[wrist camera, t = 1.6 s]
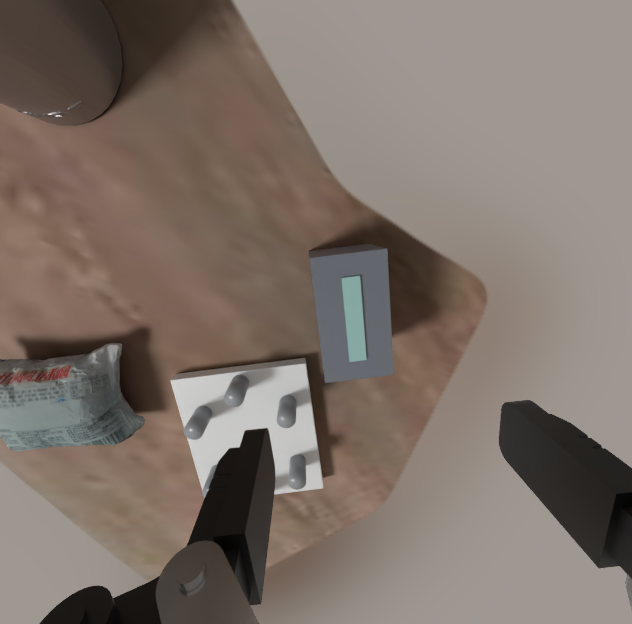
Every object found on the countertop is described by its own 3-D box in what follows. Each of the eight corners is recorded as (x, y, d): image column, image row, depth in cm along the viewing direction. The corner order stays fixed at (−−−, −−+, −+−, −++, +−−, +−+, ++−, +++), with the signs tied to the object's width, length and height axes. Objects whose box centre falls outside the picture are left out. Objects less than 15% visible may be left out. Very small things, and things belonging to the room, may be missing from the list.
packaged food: (-2, 345, 26) (-71, 373, 21) (133, 334, 26) (95, 359, 21) (33, 428, 28) (-21, 469, 24) (156, 417, 29) (126, 456, 24)
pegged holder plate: (176, 373, 27) (156, 396, 23) (305, 357, 27) (305, 377, 23) (209, 492, 31) (197, 526, 27) (322, 478, 31) (324, 511, 27)
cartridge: (308, 251, 24) (309, 258, 19) (368, 243, 24) (388, 248, 19) (320, 349, 27) (325, 384, 21) (374, 343, 27) (394, 375, 21)
